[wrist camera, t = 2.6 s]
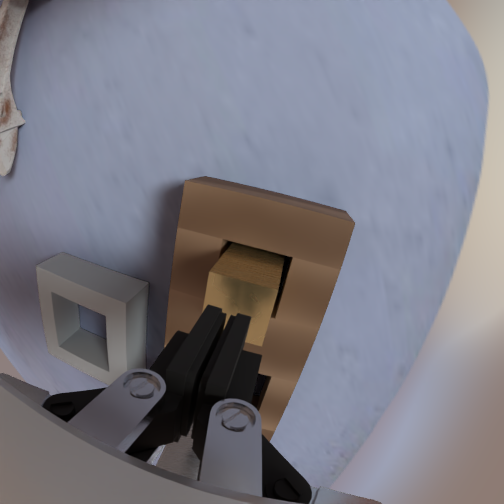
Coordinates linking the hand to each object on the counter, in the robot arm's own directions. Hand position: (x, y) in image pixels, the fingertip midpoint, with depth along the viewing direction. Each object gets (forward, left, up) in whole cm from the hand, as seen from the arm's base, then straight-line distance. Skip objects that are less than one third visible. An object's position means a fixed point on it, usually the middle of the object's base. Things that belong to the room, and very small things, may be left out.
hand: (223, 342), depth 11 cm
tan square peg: (0, 0, -7) cm, 7 cm away
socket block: (+4, 0, -9) cm, 10 cm away
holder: (+8, -12, -9) cm, 17 cm away
